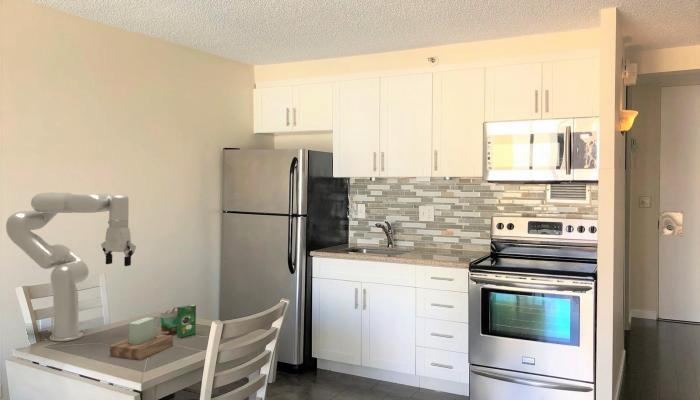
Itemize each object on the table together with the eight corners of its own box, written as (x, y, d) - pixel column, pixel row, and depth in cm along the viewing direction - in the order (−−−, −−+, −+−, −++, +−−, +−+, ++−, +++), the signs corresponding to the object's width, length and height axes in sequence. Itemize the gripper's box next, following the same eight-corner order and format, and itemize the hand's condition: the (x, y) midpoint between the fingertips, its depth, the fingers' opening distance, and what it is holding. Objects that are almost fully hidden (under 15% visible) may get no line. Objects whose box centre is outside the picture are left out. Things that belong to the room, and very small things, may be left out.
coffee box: (192, 333, 251) (192, 303, 250) (196, 334, 249) (196, 304, 248) (176, 336, 245) (176, 306, 244) (180, 338, 243) (180, 307, 242)
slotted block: (109, 356, 218) (109, 345, 218) (144, 341, 237) (144, 332, 237) (140, 360, 214) (140, 349, 214) (172, 345, 233) (172, 335, 233)
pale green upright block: (129, 353, 221) (129, 323, 221) (146, 346, 231) (145, 317, 230) (138, 354, 220) (137, 324, 220) (154, 347, 230) (154, 318, 229)
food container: (173, 337, 245) (172, 314, 244) (159, 336, 246) (159, 313, 245) (186, 329, 257) (186, 307, 256) (174, 328, 258) (174, 306, 258)
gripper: (95, 223, 238) (95, 264, 239) (129, 226, 232) (128, 267, 233) (108, 222, 245) (108, 262, 246) (141, 224, 239) (141, 265, 240)
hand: (118, 264), depth 239 cm, fingers open, 9 cm apart
